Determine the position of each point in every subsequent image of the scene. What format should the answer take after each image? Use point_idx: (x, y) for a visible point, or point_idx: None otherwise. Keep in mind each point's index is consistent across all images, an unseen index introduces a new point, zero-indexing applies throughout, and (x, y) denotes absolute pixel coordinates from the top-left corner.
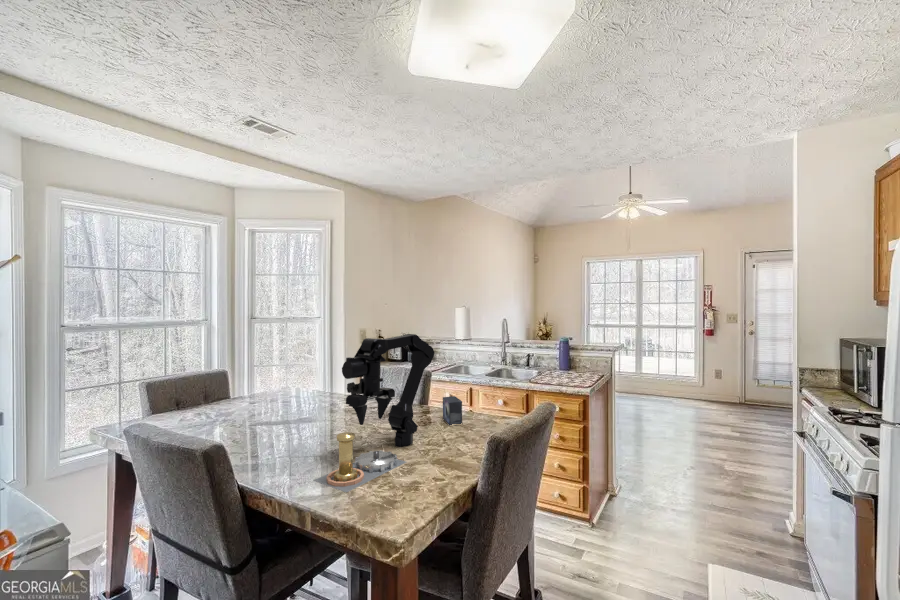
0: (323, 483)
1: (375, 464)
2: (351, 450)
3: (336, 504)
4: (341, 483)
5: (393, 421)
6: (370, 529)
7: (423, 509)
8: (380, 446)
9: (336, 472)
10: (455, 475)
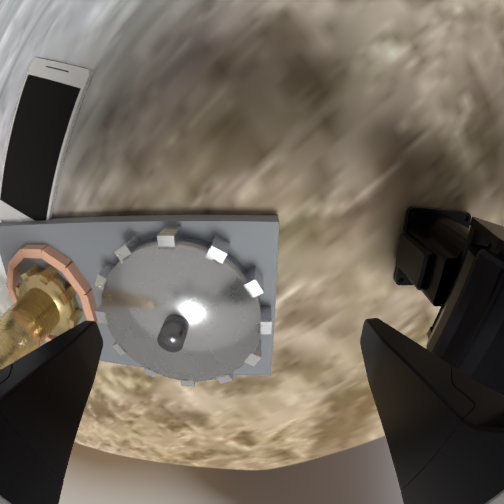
0: (5, 267)
1: (135, 354)
2: None
3: None
4: None
5: (459, 308)
6: None
7: (132, 448)
8: (406, 138)
9: (23, 284)
10: (285, 449)
